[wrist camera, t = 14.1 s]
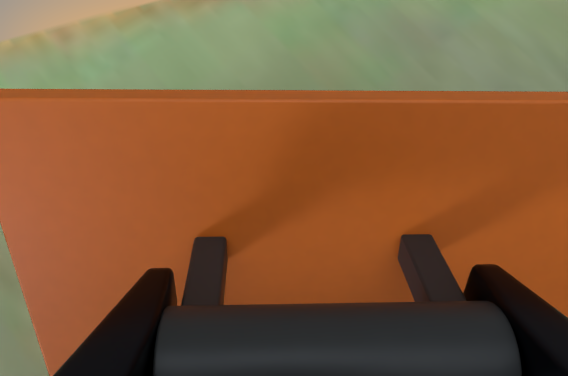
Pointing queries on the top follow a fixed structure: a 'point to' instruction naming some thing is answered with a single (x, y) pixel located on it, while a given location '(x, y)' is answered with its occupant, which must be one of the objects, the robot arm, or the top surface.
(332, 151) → the lid
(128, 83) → the top surface
